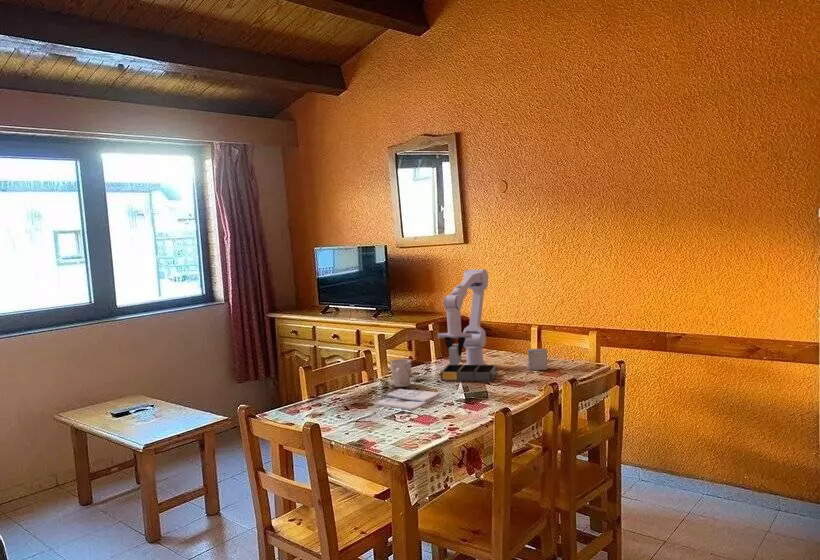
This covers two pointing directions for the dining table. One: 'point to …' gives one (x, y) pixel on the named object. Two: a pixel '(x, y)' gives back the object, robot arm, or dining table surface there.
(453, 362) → the panel
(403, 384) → the mug
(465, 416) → the dining table surface
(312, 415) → the dining table surface
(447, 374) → the rack
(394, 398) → the open book
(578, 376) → the dining table surface
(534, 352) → the medicine box
